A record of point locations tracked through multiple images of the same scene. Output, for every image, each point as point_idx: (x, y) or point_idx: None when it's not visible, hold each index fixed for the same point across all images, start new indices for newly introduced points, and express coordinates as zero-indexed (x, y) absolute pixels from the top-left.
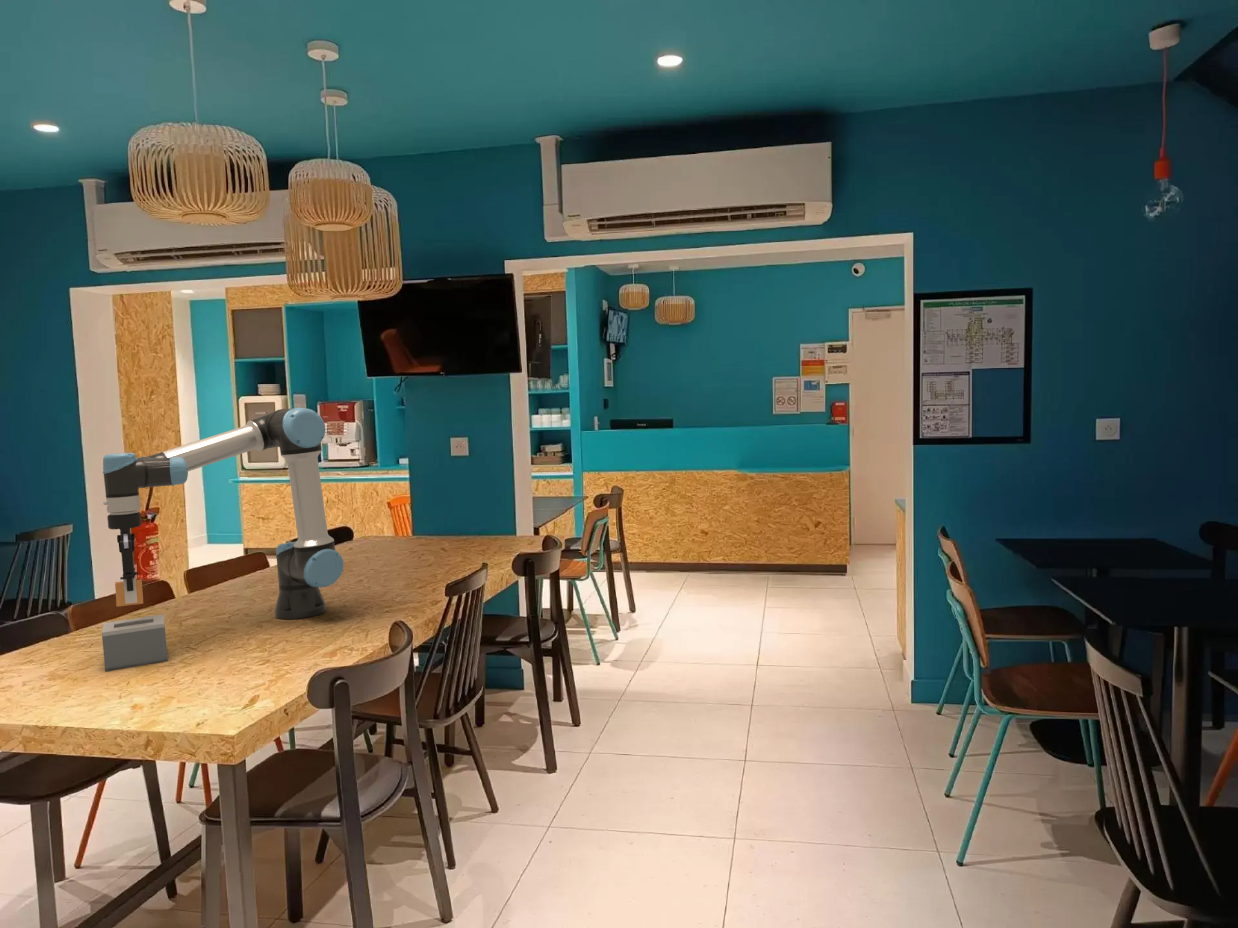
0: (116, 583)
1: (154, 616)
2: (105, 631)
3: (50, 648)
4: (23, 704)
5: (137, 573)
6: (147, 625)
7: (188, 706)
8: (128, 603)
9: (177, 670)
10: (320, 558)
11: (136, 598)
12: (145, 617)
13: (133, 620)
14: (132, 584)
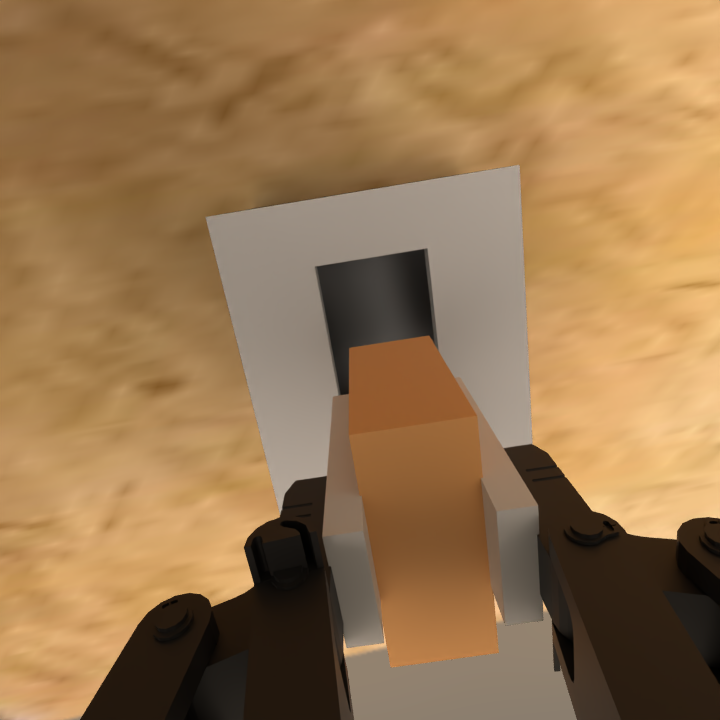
0: (489, 642)
1: (248, 269)
2: None
3: (15, 639)
4: None
5: (313, 530)
6: (513, 269)
7: None
8: None
9: (642, 107)
10: None
11: (466, 394)
12: (251, 322)
13: (304, 378)
14: (567, 484)
